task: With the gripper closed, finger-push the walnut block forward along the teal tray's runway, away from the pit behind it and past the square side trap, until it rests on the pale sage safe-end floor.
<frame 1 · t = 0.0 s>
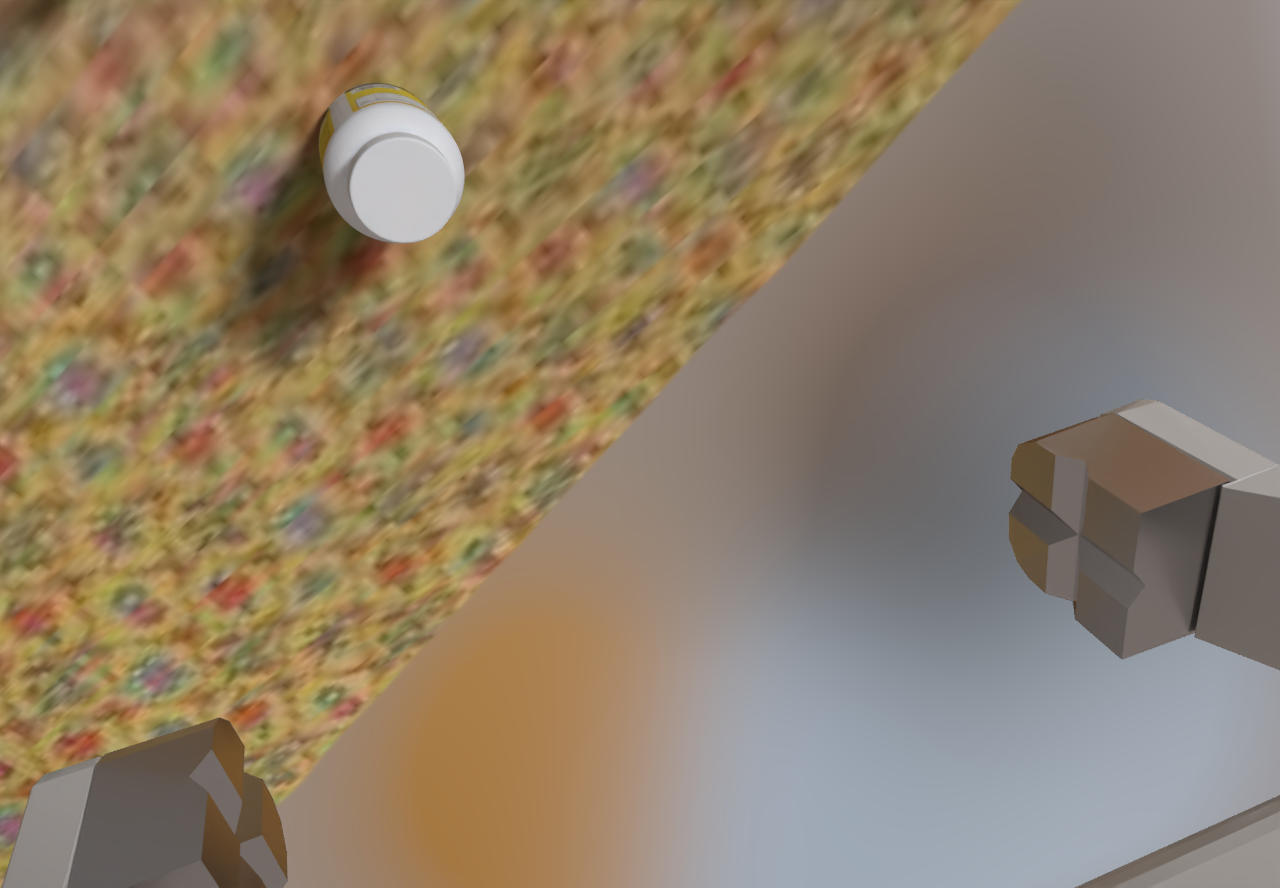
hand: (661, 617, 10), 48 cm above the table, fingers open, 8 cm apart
pill bottle: (380, 142, 52), on the table
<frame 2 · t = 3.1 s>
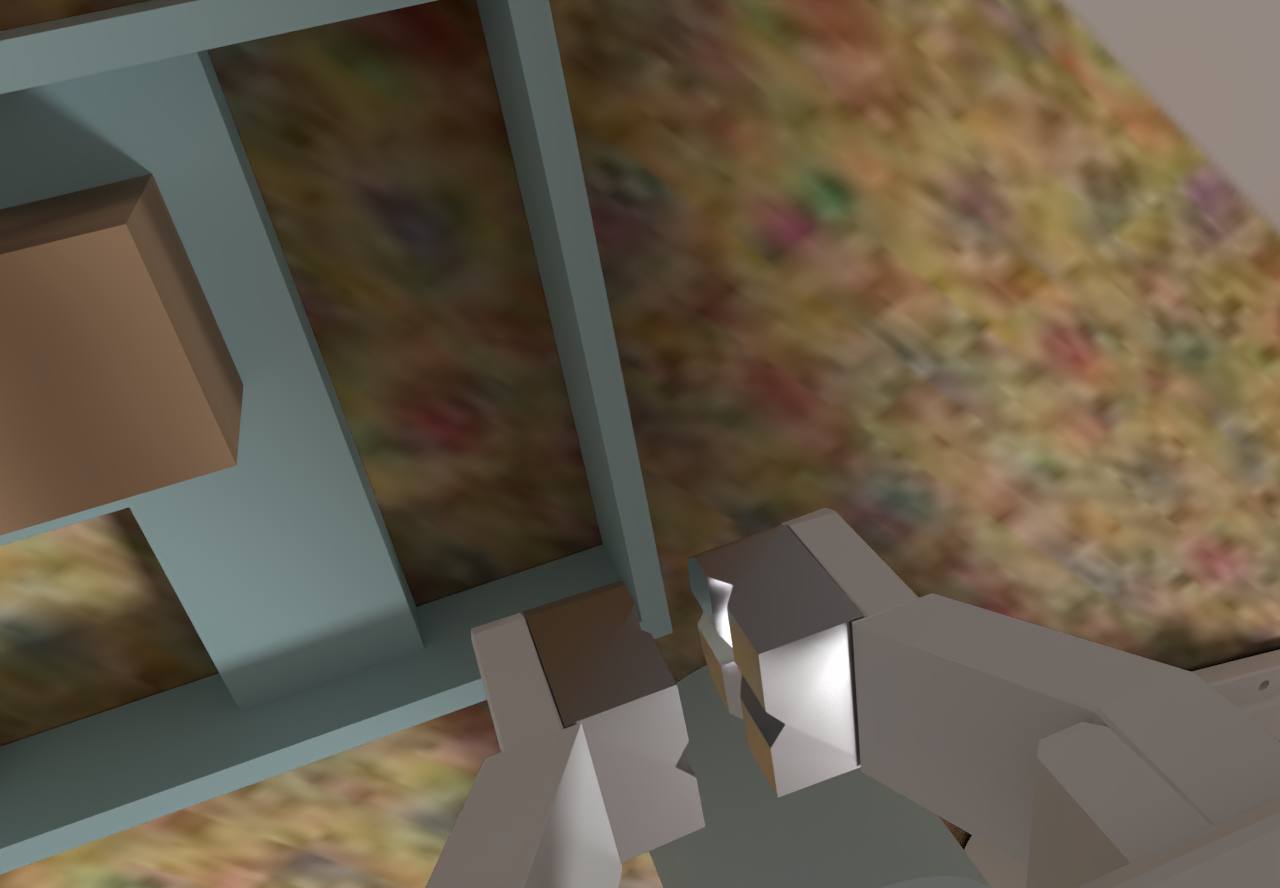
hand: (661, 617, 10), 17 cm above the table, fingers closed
mug: (704, 784, 37), on the table
block: (81, 316, 21), point 2 cm above the table, touching tray
tray: (77, 439, 24), on the table
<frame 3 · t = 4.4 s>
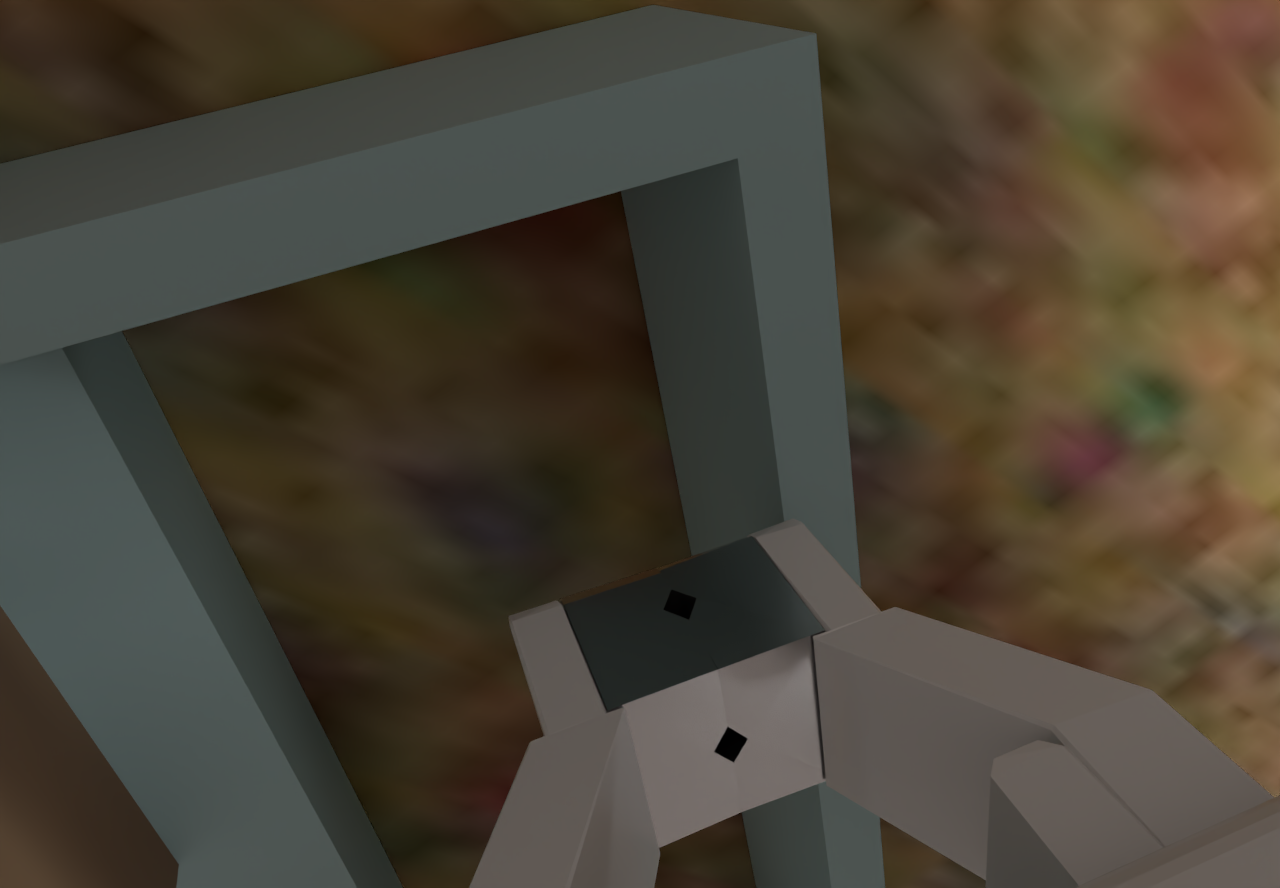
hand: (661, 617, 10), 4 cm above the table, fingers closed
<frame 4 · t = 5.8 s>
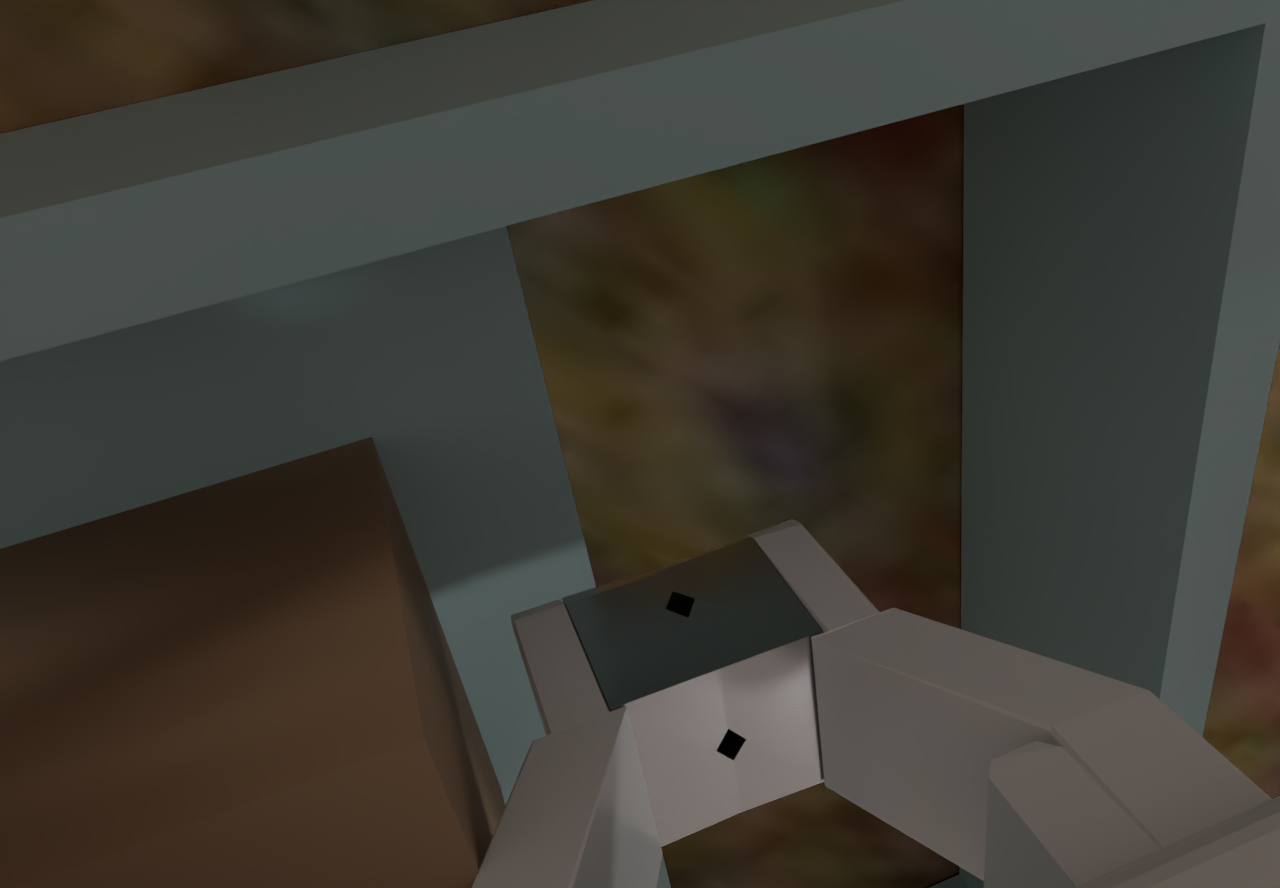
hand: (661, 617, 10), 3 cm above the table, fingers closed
block: (205, 717, 10), point 2 cm above the table, touching gripper
tray: (168, 849, 13), on the table
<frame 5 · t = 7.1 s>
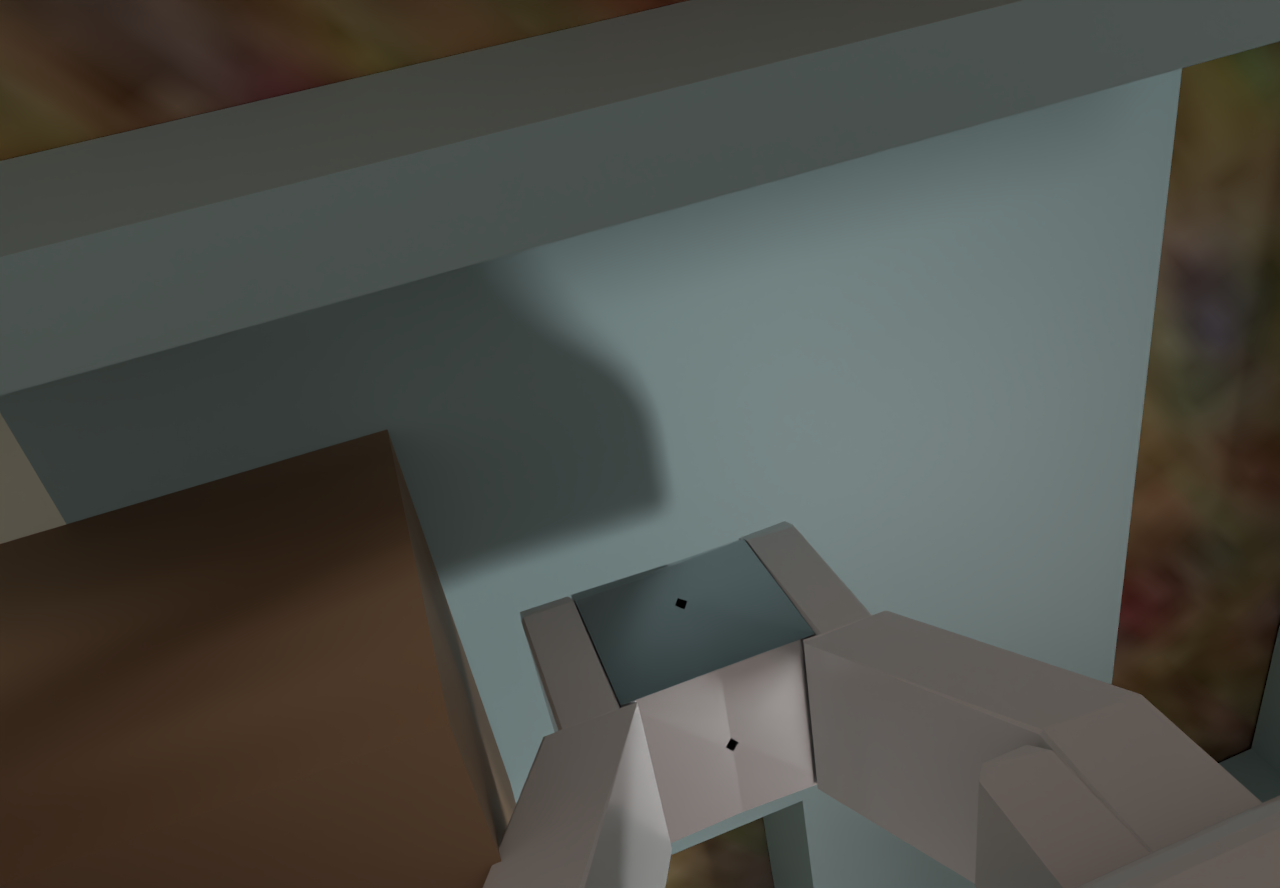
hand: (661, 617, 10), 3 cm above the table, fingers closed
block: (218, 709, 10), point 2 cm above the table, touching gripper, tray
tray: (674, 672, 14), on the table
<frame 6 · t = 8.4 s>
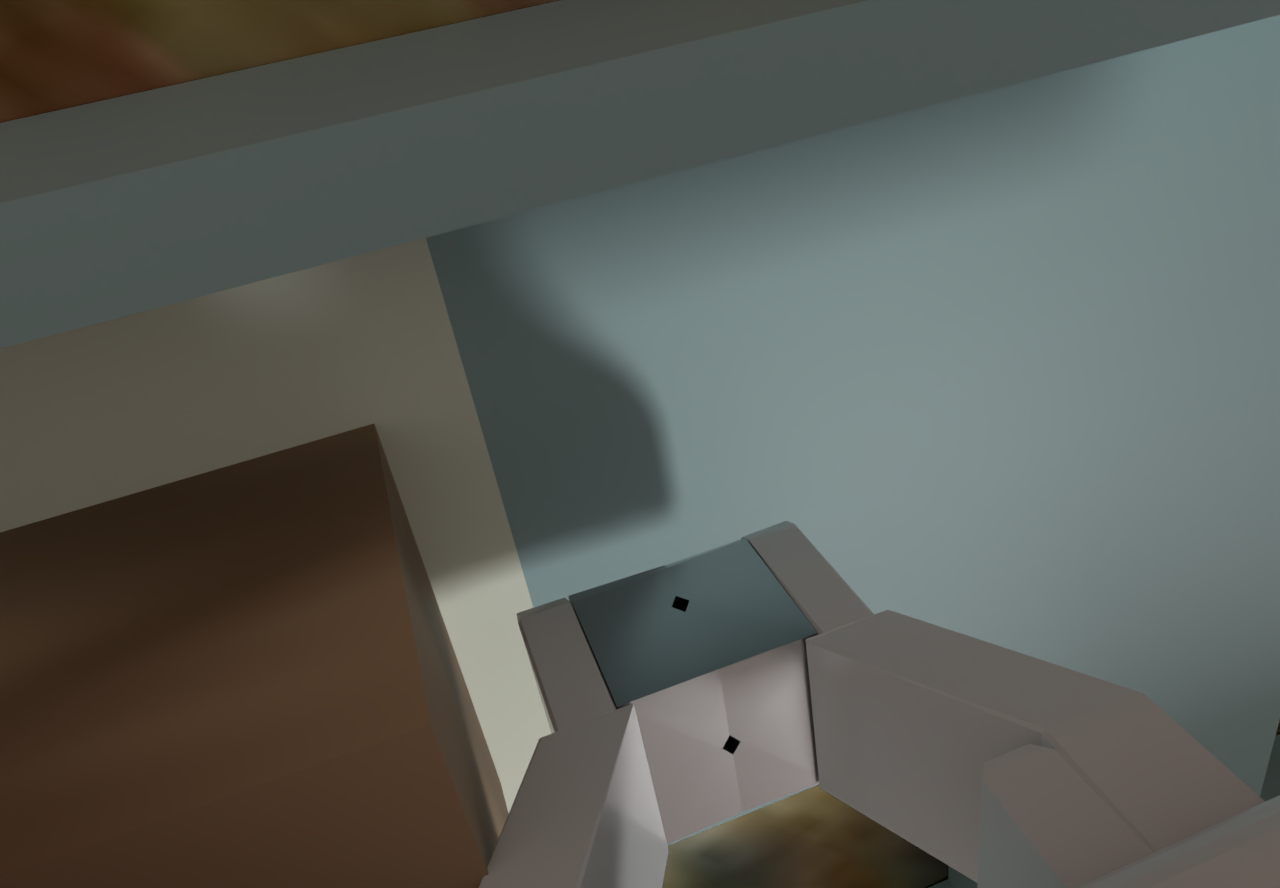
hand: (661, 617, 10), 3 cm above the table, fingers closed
block: (203, 707, 10), point 2 cm above the table, touching gripper, tray
tray: (892, 580, 15), on the table
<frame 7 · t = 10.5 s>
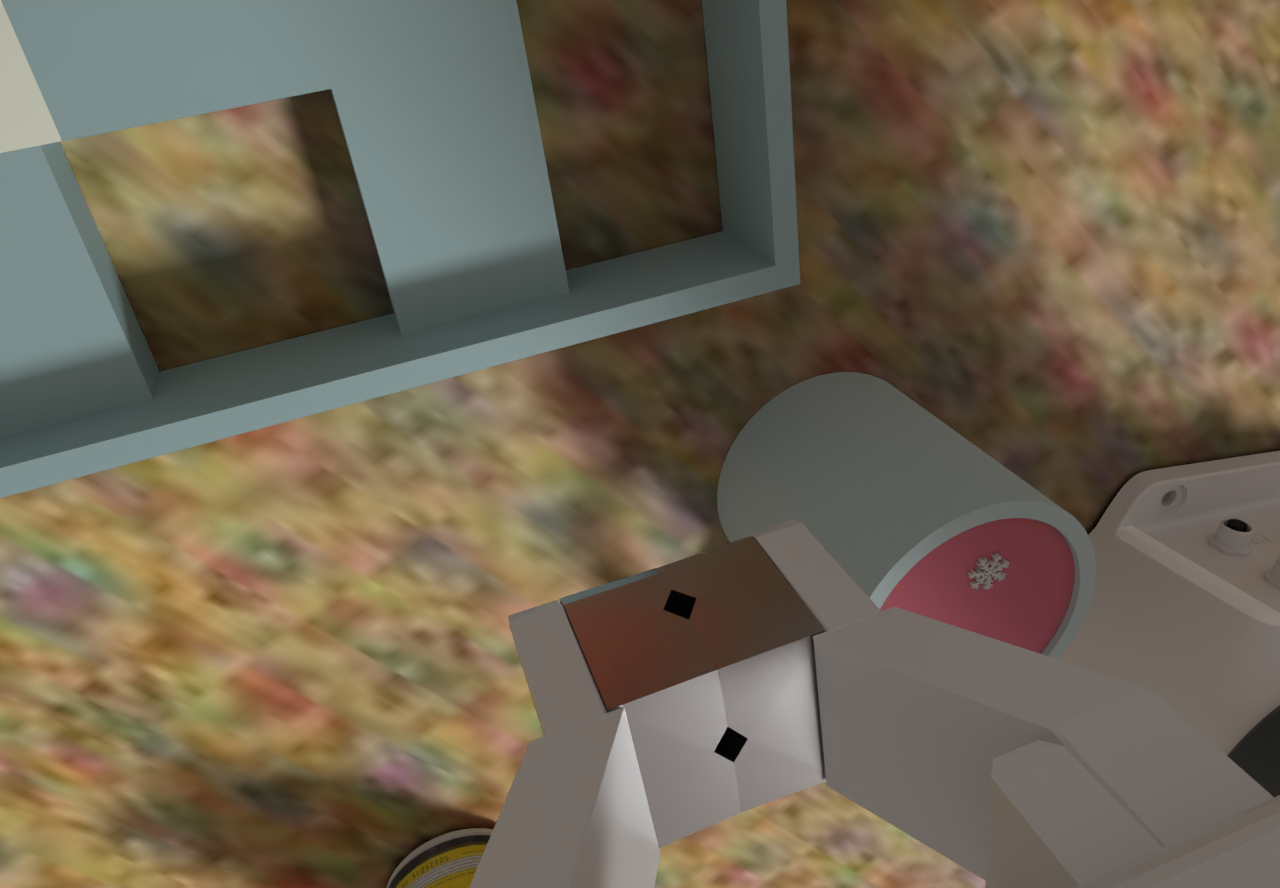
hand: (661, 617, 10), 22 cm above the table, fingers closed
pill bottle: (457, 870, 42), on the table
mug: (787, 518, 39), on the table
tray: (275, 38, 25), on the table
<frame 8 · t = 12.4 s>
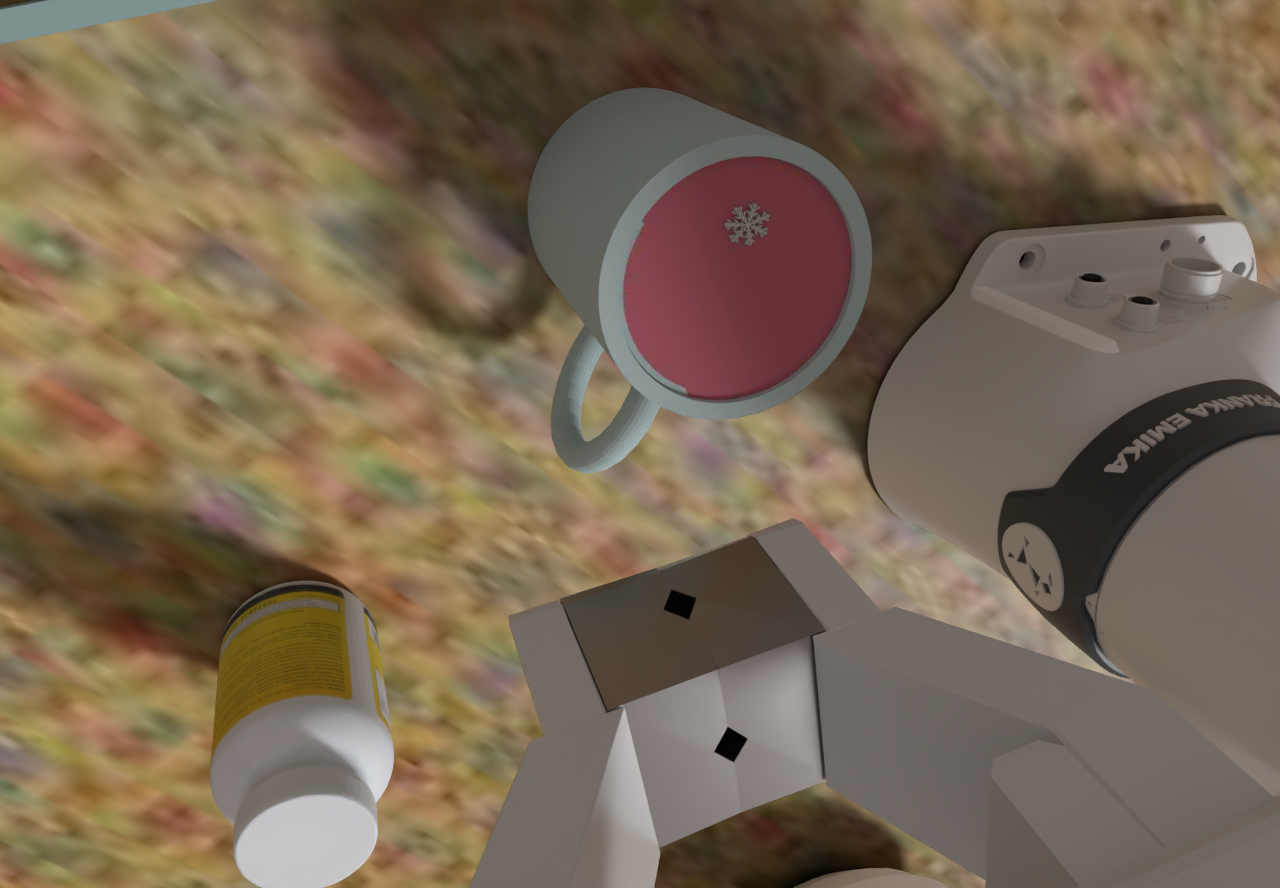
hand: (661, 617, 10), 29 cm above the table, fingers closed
pill bottle: (301, 631, 42), on the table
mug: (611, 256, 39), on the table
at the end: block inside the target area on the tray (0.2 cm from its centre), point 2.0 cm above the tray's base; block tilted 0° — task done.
